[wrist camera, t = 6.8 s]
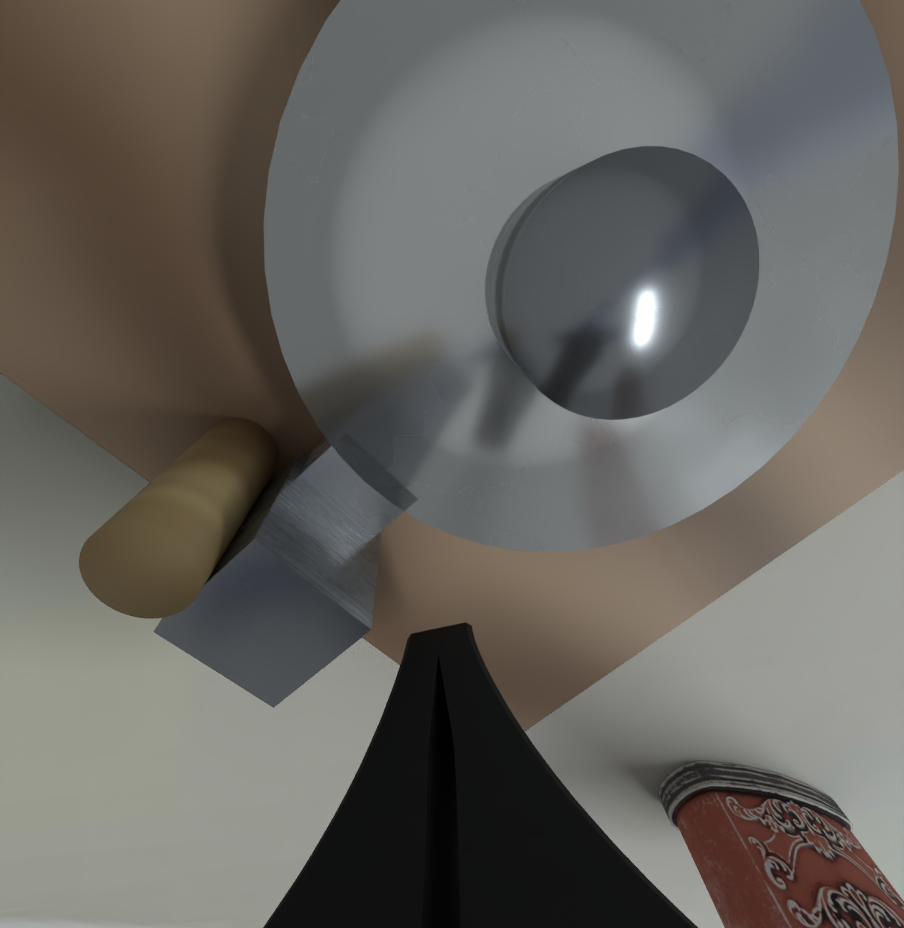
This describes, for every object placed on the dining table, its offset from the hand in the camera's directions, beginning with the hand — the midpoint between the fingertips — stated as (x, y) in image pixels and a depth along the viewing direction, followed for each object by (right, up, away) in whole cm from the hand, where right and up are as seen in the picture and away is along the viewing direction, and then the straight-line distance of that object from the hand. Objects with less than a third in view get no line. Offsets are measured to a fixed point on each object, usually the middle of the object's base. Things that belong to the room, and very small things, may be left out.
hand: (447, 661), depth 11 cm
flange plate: (+1, +7, -1) cm, 7 cm away
